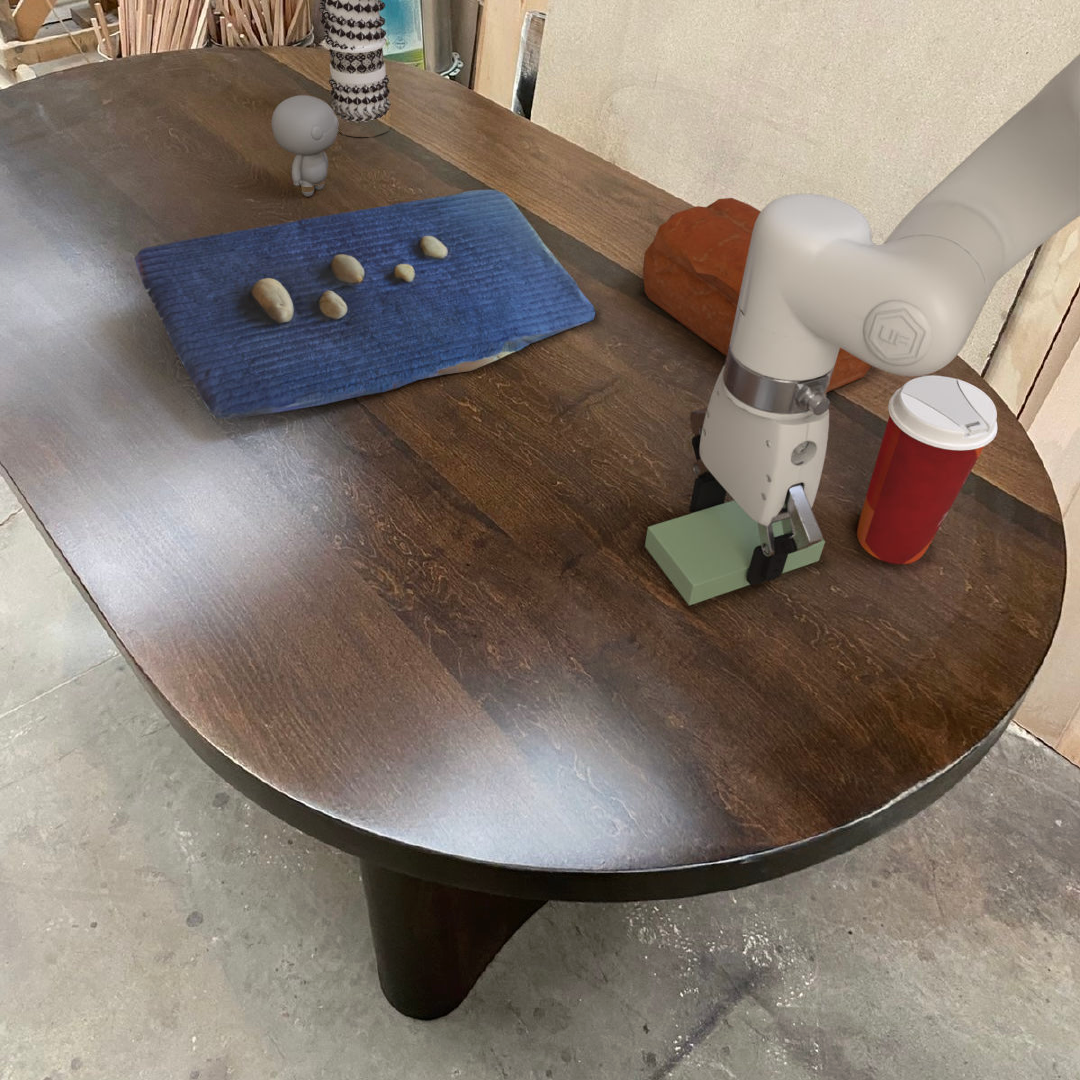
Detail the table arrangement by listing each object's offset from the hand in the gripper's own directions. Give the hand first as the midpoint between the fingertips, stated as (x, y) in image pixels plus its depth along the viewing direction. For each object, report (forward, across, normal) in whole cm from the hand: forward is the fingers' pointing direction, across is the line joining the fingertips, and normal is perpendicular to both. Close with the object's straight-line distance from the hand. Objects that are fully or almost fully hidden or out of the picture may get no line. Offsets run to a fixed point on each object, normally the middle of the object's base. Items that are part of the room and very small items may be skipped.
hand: (733, 542), depth 82 cm
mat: (+2, +47, +17) cm, 50 cm away
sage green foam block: (+1, 0, 0) cm, 1 cm away
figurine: (+2, +79, +15) cm, 80 cm away
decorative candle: (+2, +98, +2) cm, 98 cm away
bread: (+2, +29, -22) cm, 37 cm away
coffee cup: (+2, -4, -14) cm, 15 cm away
